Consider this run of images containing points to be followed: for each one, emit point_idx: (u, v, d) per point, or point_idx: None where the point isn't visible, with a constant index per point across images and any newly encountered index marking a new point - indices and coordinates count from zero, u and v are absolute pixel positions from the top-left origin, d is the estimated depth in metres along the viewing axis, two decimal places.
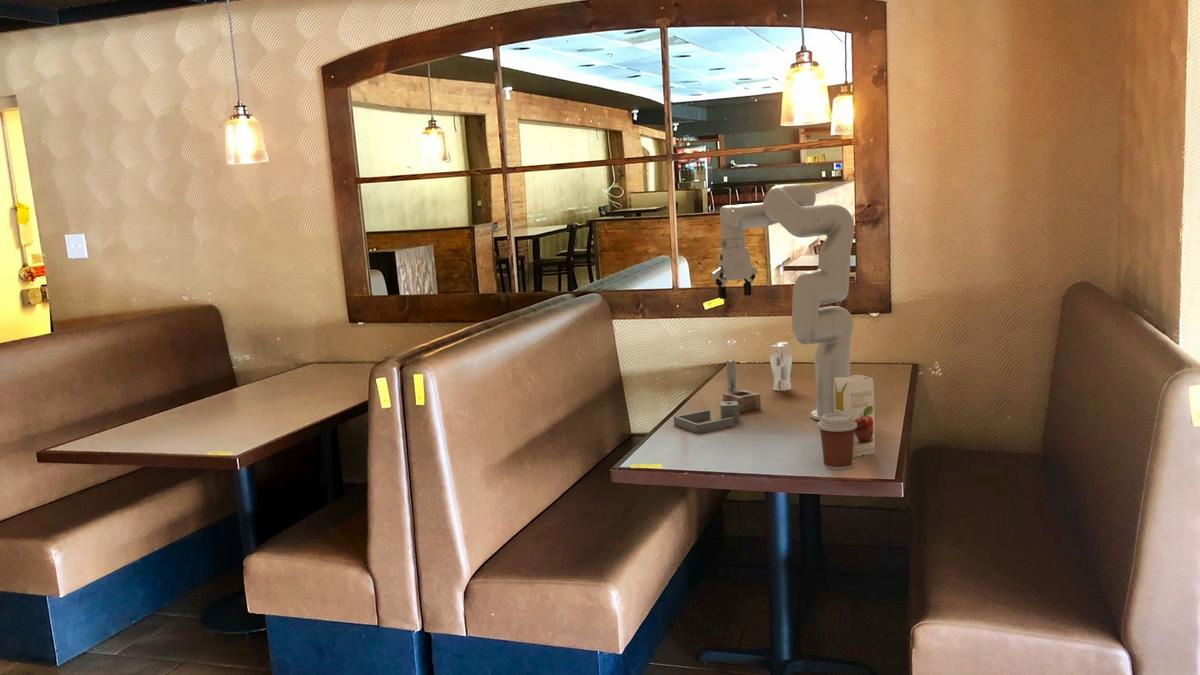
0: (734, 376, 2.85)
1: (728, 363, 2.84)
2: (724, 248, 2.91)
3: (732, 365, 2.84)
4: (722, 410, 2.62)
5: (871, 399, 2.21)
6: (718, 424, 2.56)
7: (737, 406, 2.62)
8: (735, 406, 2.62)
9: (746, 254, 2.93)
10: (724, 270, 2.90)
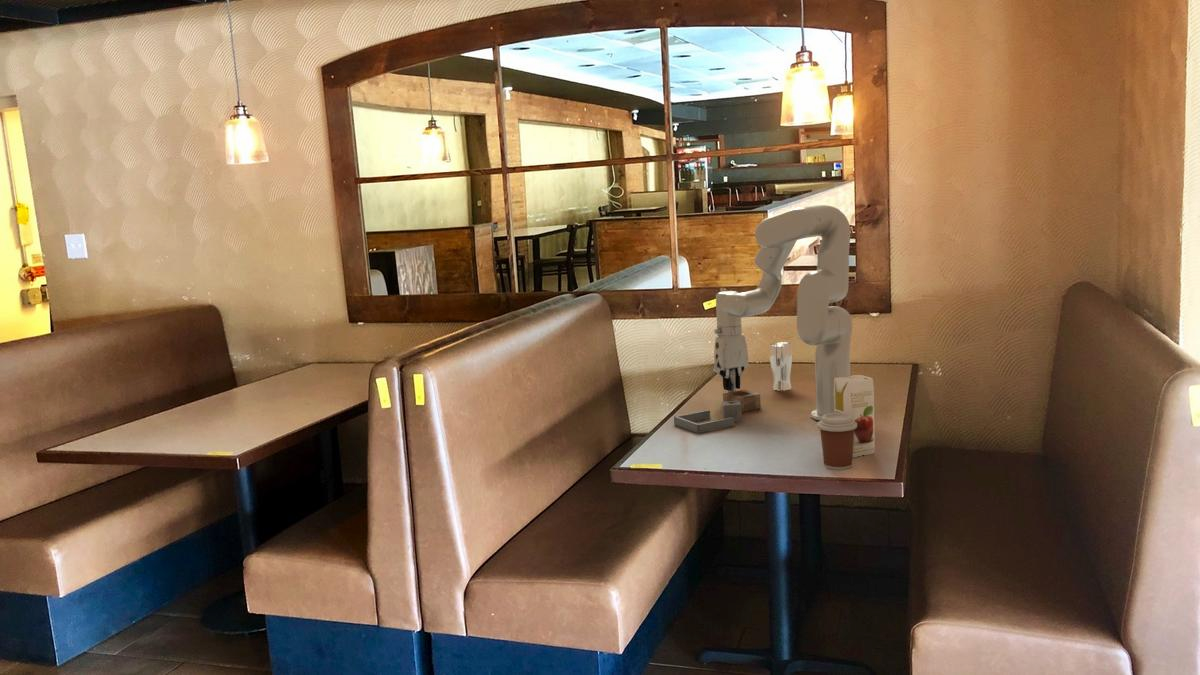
0: (734, 376, 2.85)
1: None
2: (720, 336, 2.82)
3: None
4: (724, 410, 2.62)
5: (871, 399, 2.21)
6: (718, 424, 2.56)
7: (739, 406, 2.62)
8: (737, 406, 2.62)
9: (743, 342, 2.83)
10: (720, 359, 2.81)
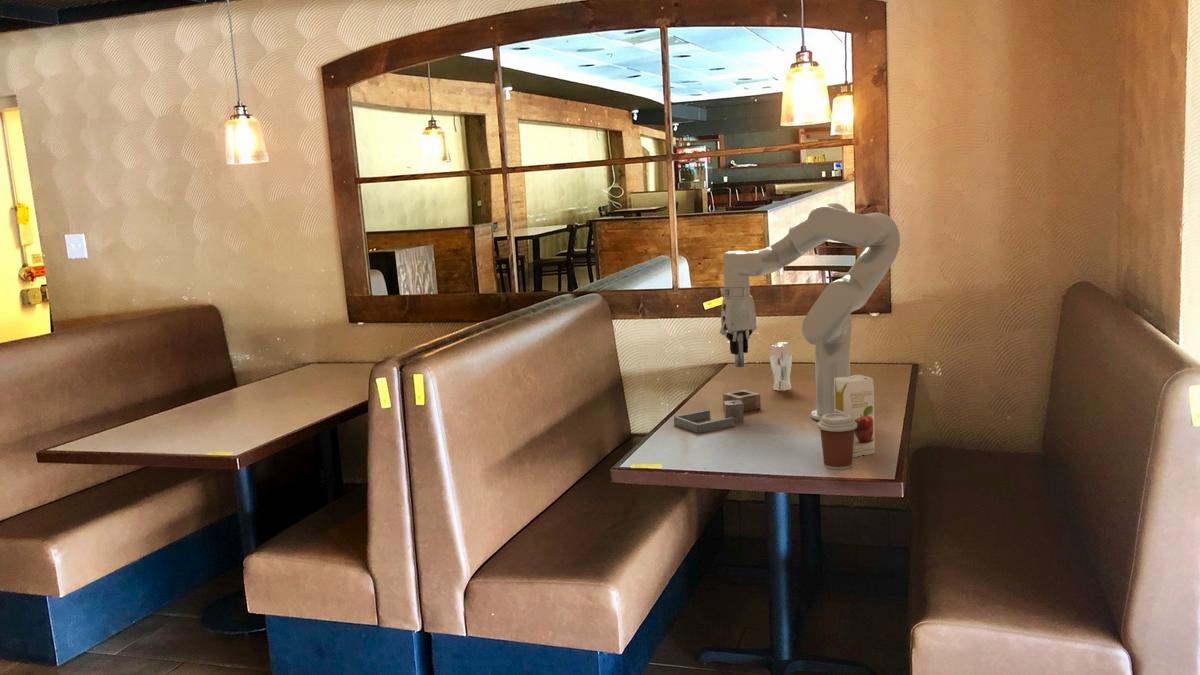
0: (741, 339, 2.74)
1: None
2: (727, 297, 2.71)
3: None
4: (726, 409, 2.63)
5: (871, 399, 2.21)
6: (718, 424, 2.56)
7: (741, 405, 2.62)
8: (739, 405, 2.62)
9: (751, 303, 2.72)
10: (727, 321, 2.70)
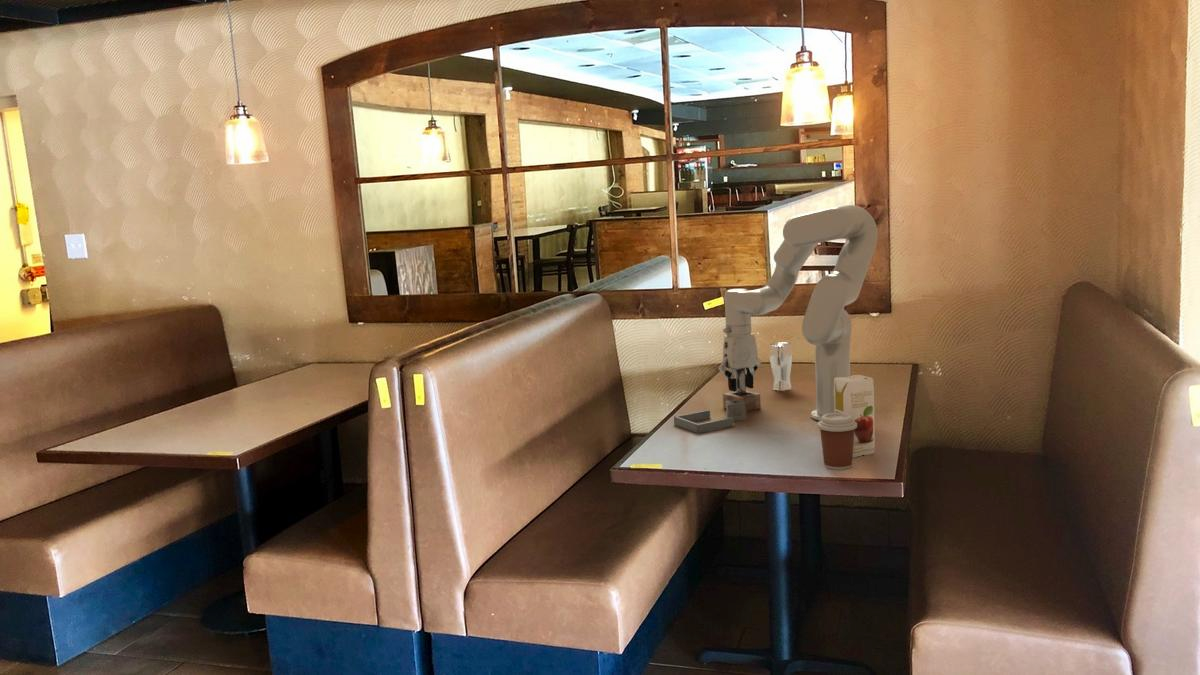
0: (744, 382, 2.76)
1: None
2: (729, 335, 2.72)
3: (742, 370, 2.75)
4: (729, 409, 2.63)
5: (871, 399, 2.21)
6: (718, 424, 2.56)
7: (743, 405, 2.63)
8: (741, 405, 2.63)
9: (752, 341, 2.74)
10: (729, 359, 2.72)
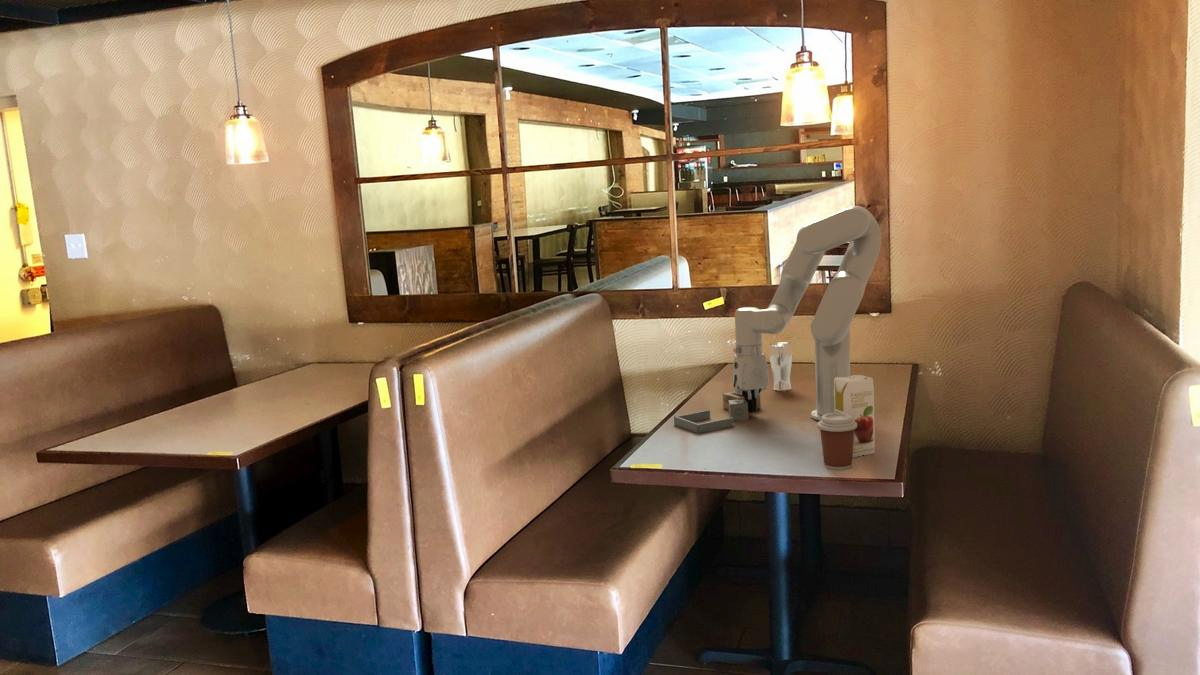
0: None
1: None
2: (739, 355, 2.64)
3: None
4: (731, 408, 2.64)
5: (871, 399, 2.21)
6: (718, 424, 2.56)
7: (746, 404, 2.63)
8: (744, 404, 2.63)
9: (763, 361, 2.65)
10: (739, 380, 2.63)
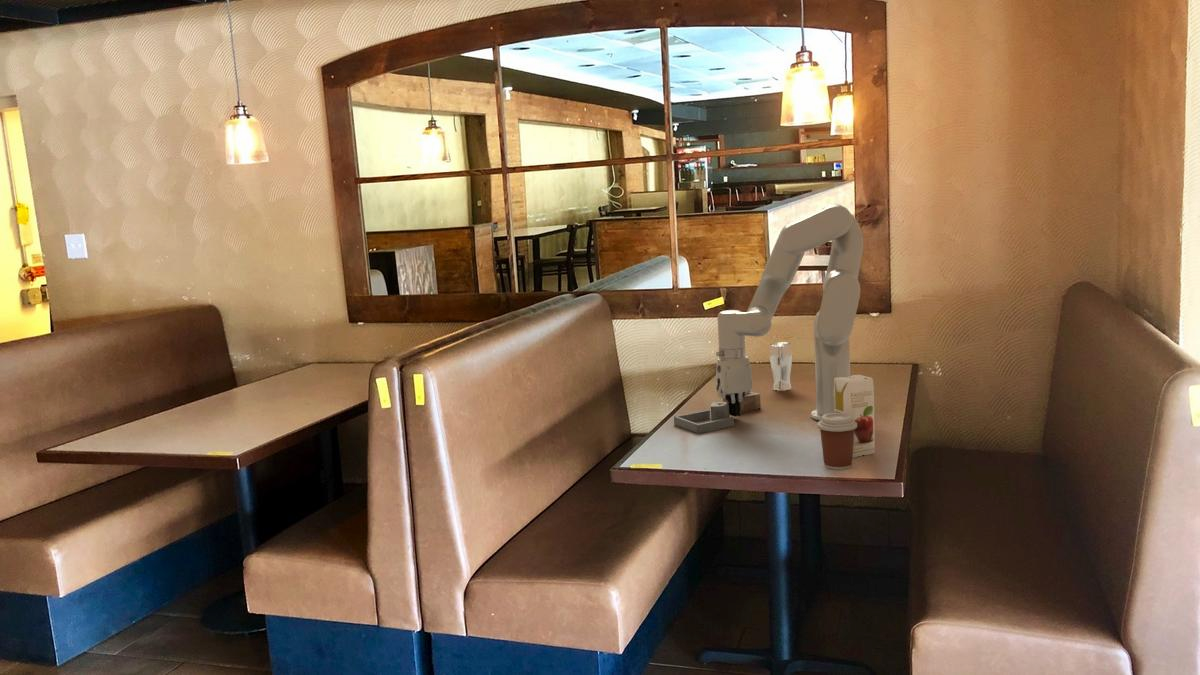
0: None
1: None
2: (722, 358, 2.61)
3: None
4: (711, 411, 2.62)
5: (871, 399, 2.21)
6: (718, 424, 2.56)
7: (726, 407, 2.61)
8: (724, 407, 2.61)
9: (747, 365, 2.63)
10: (722, 383, 2.60)
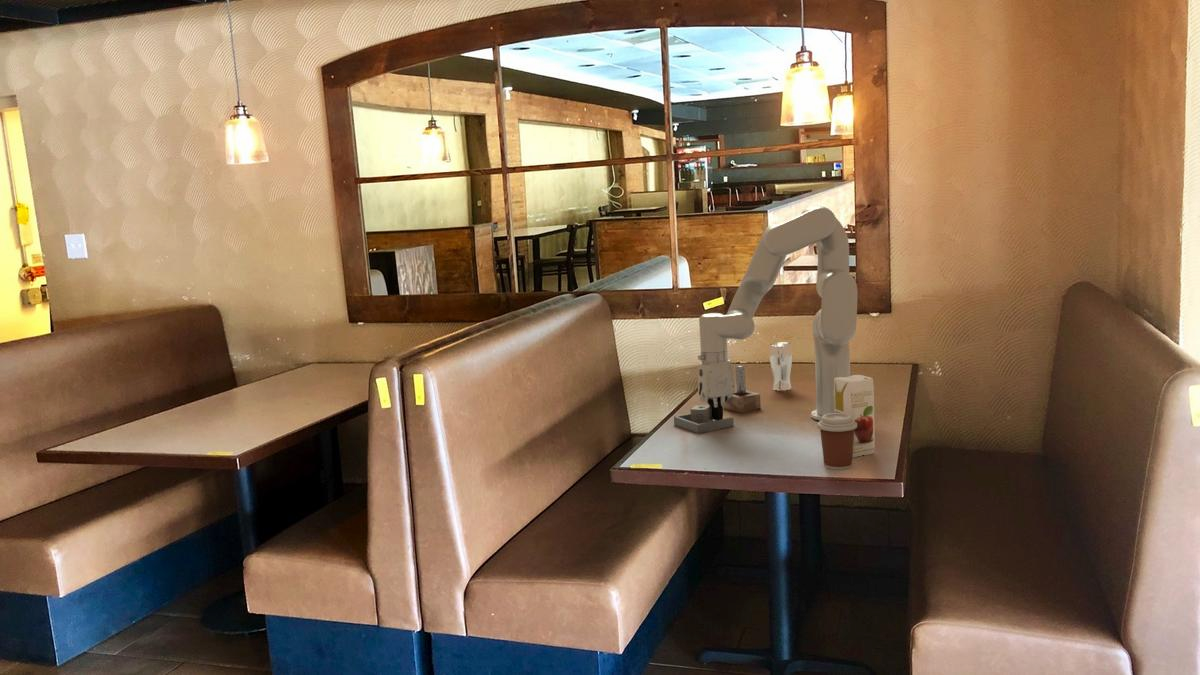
0: (744, 382, 2.76)
1: (737, 368, 2.75)
2: (704, 362, 2.58)
3: (742, 370, 2.75)
4: (691, 413, 2.60)
5: (871, 399, 2.21)
6: (718, 424, 2.56)
7: (706, 411, 2.58)
8: (704, 411, 2.58)
9: (729, 368, 2.60)
10: (704, 387, 2.58)
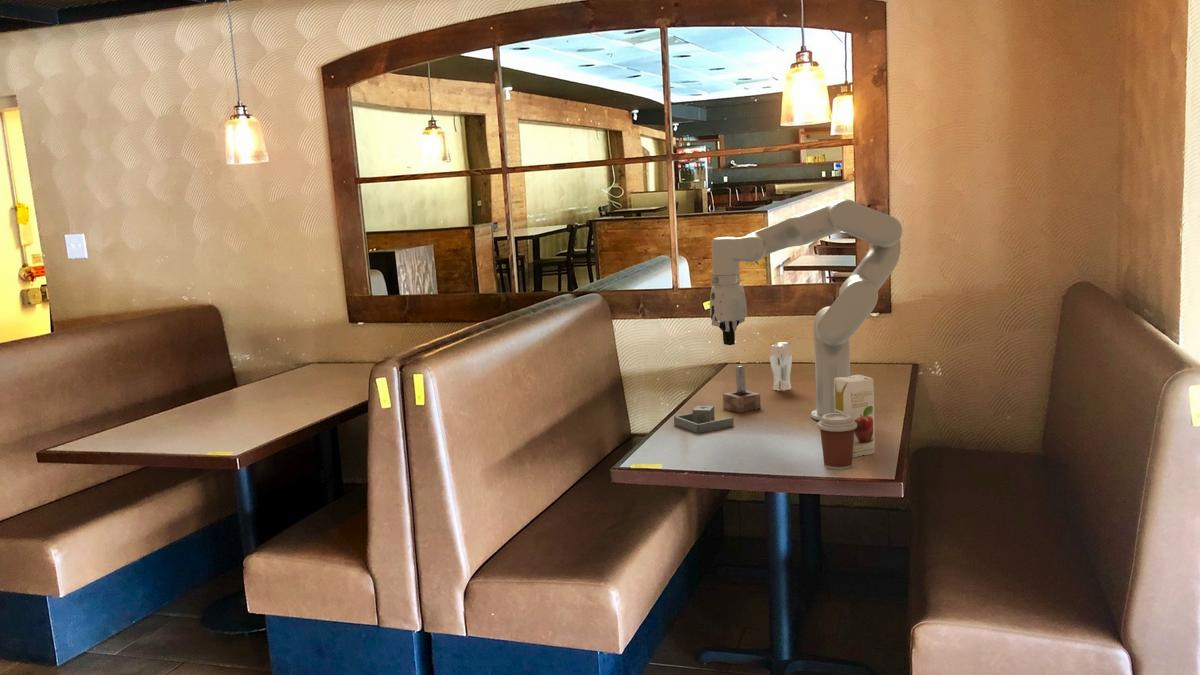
0: (744, 382, 2.76)
1: (737, 368, 2.75)
2: (716, 285, 2.57)
3: (742, 371, 2.75)
4: (693, 414, 2.60)
5: (871, 399, 2.21)
6: (718, 424, 2.56)
7: (708, 411, 2.58)
8: (706, 411, 2.58)
9: (741, 292, 2.59)
10: (716, 310, 2.57)
